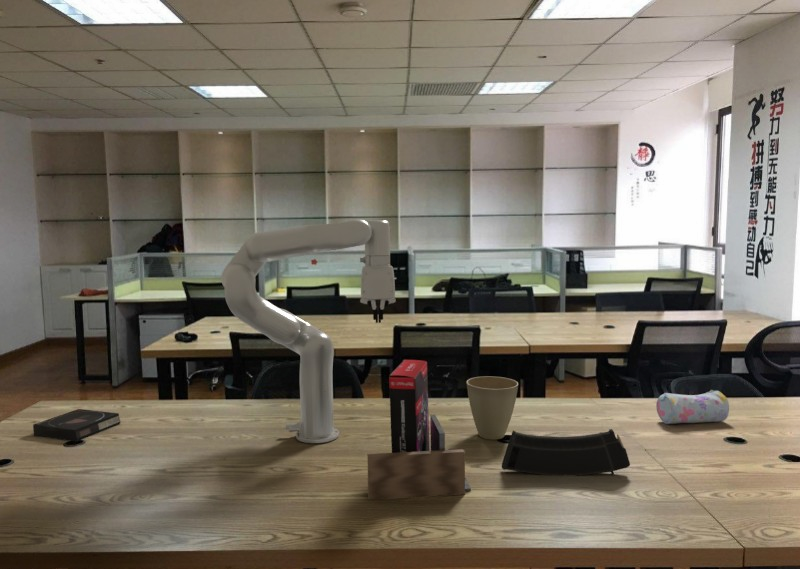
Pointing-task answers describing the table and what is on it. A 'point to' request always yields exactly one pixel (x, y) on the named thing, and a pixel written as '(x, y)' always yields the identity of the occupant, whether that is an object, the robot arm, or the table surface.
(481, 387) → the plant pot
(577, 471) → the black curved panel
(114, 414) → the portable cd player
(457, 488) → the shelf lip
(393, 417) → the graphics card box
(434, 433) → the bookend
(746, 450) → the table surface
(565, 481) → the table surface
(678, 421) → the pencil case
